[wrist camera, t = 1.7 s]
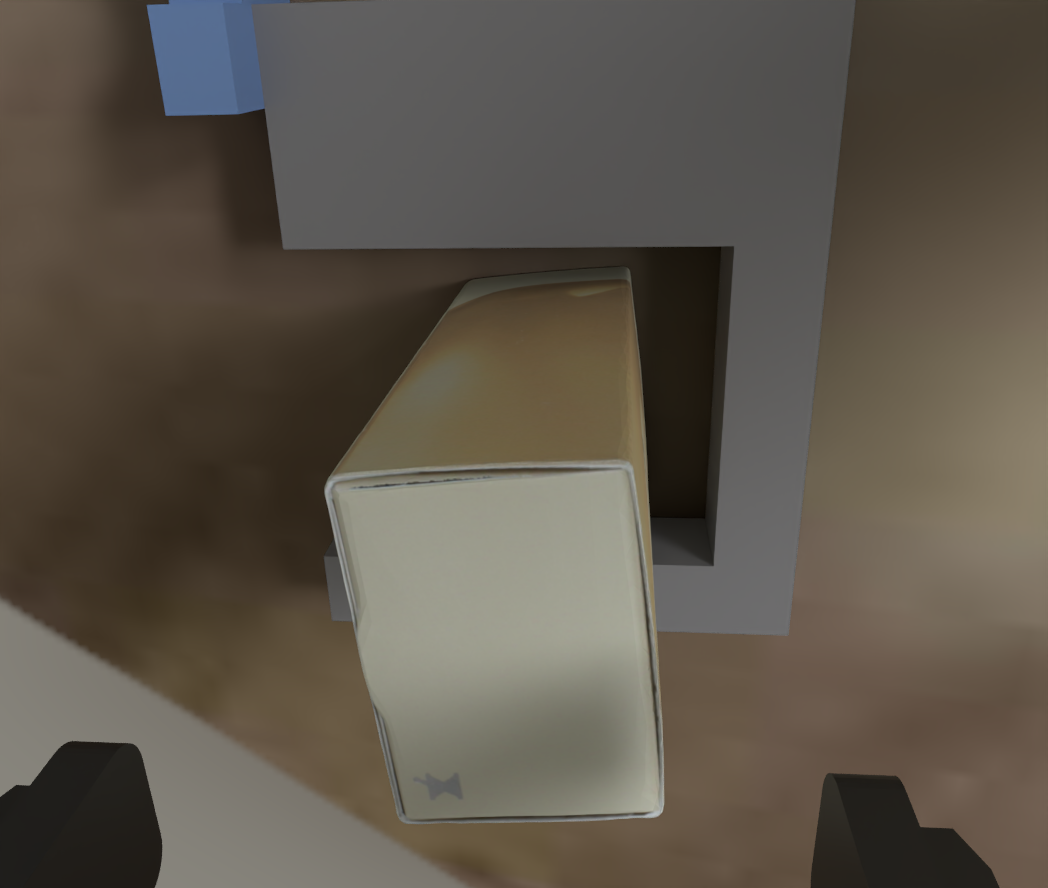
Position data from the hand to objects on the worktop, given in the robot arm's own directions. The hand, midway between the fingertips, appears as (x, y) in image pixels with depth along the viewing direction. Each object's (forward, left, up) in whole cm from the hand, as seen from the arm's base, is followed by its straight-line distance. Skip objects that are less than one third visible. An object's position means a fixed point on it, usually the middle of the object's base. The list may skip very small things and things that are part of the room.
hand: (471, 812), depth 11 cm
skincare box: (0, 0, -15) cm, 15 cm away
